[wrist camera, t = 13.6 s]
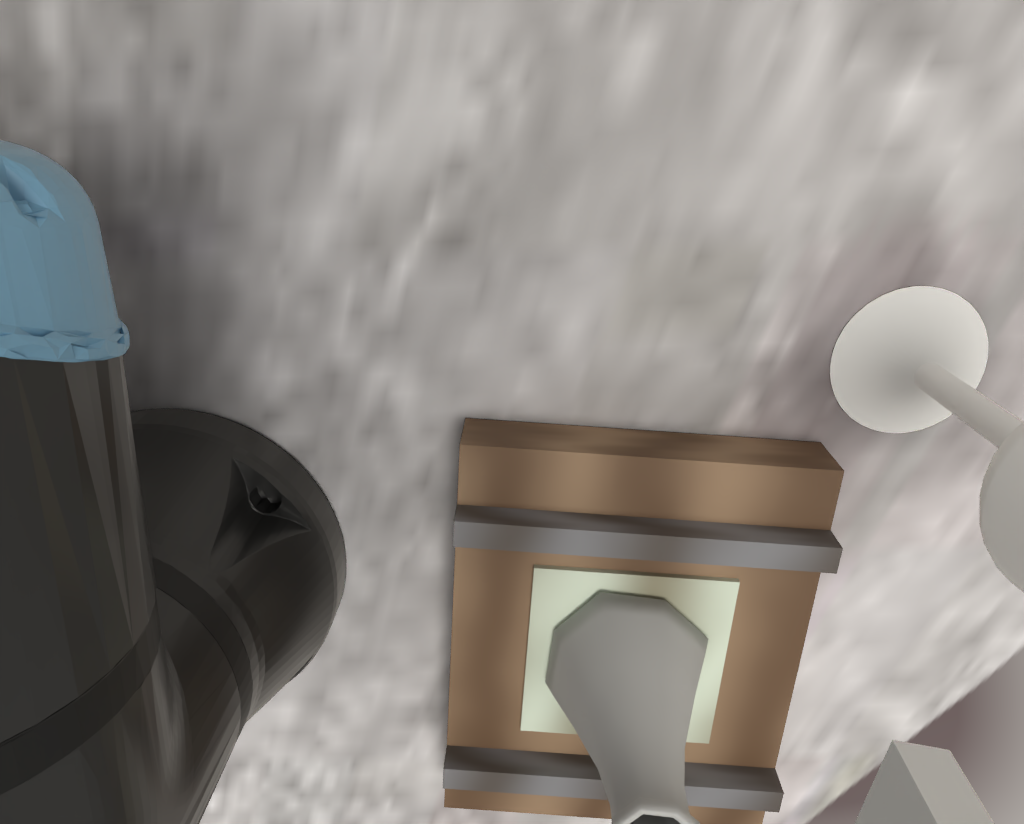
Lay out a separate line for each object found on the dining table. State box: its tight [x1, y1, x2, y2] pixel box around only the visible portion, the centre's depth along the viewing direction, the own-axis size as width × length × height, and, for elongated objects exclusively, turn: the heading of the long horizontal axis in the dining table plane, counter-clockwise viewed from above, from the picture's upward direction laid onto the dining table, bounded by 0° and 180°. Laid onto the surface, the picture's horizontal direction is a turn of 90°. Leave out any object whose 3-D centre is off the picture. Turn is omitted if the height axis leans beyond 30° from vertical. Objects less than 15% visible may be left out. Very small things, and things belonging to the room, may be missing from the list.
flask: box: [545, 592, 708, 824], centre depth 32 cm, size 7×7×10 cm
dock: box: [443, 418, 844, 824], centre depth 38 cm, size 16×20×4 cm
